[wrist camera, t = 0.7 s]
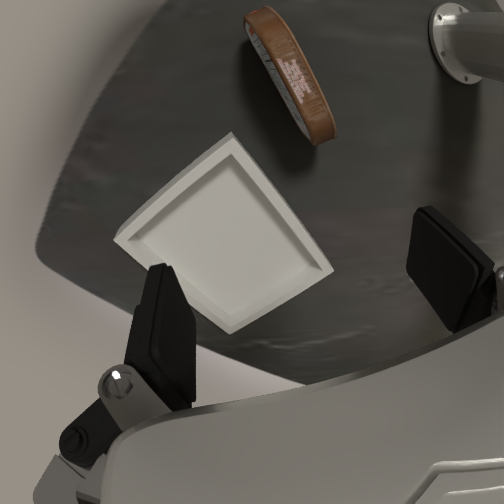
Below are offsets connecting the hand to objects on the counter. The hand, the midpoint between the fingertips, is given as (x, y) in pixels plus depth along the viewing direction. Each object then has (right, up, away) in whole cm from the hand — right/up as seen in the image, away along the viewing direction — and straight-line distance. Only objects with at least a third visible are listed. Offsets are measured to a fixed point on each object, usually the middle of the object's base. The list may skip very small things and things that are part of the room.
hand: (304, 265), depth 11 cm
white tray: (-5, +2, +27) cm, 28 cm away
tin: (+1, +19, +17) cm, 26 cm away
